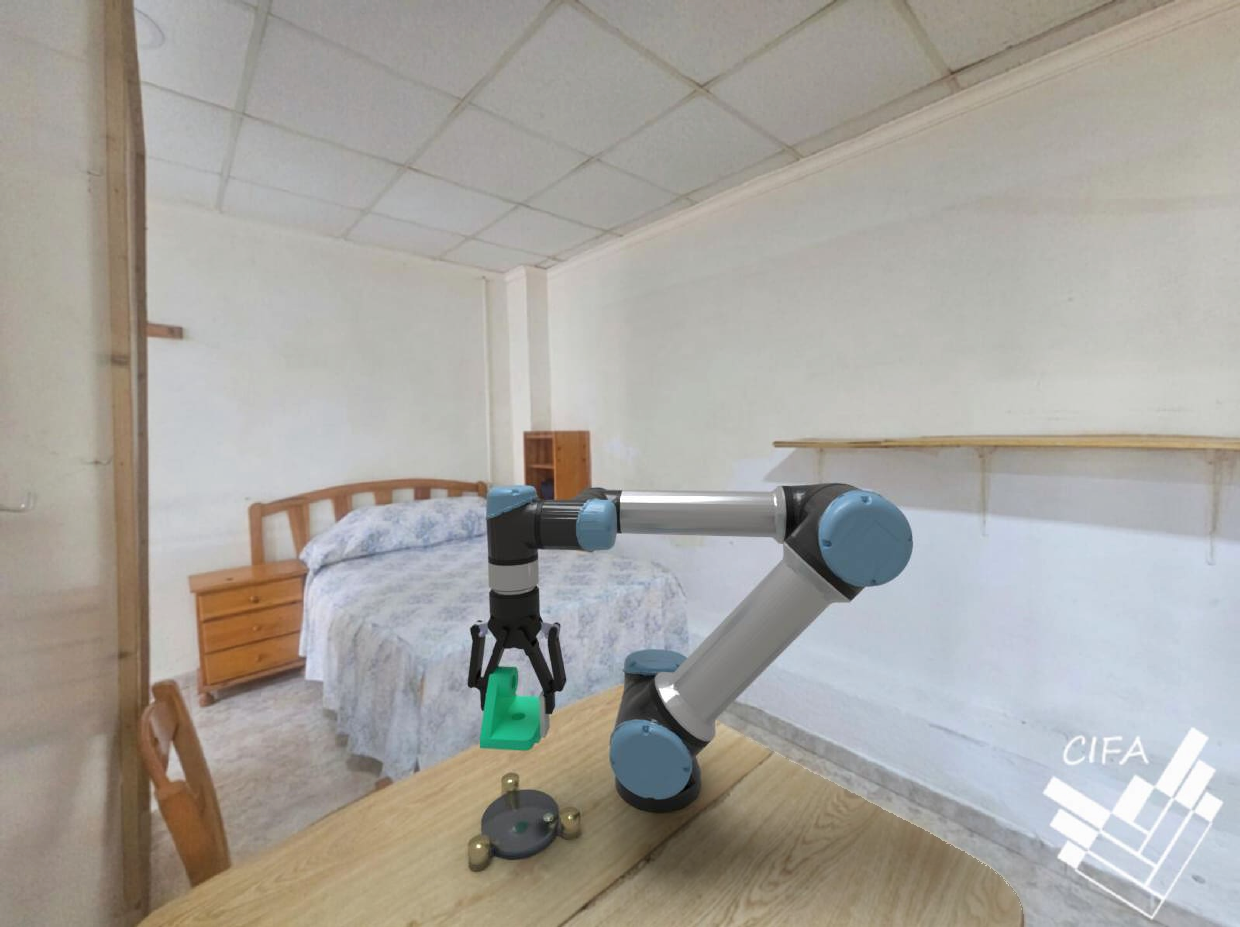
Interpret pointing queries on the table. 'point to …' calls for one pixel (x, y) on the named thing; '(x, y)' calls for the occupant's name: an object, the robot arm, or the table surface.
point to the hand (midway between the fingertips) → (518, 730)
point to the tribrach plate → (520, 825)
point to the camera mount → (509, 714)
